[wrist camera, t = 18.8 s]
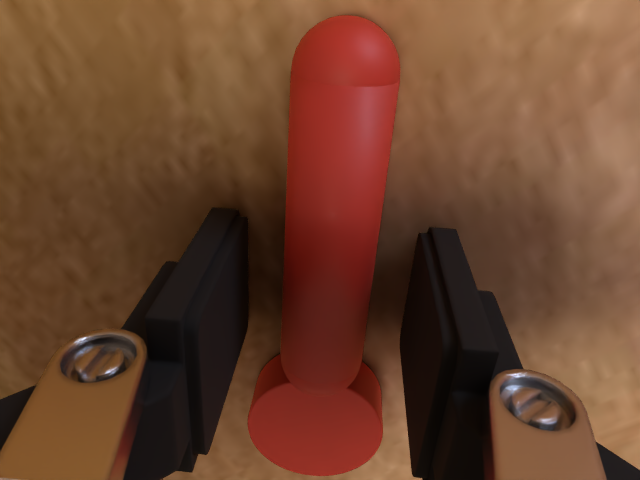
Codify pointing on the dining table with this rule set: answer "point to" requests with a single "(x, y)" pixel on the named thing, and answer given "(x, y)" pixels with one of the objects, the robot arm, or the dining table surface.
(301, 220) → the red spoon
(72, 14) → the dining table surface
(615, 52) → the dining table surface
